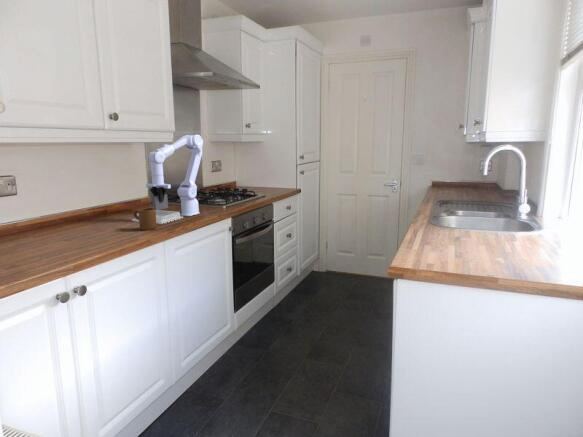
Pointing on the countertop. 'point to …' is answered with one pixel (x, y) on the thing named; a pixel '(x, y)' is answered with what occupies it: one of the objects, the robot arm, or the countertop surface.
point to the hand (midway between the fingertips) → (159, 201)
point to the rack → (164, 216)
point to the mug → (146, 218)
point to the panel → (157, 204)
